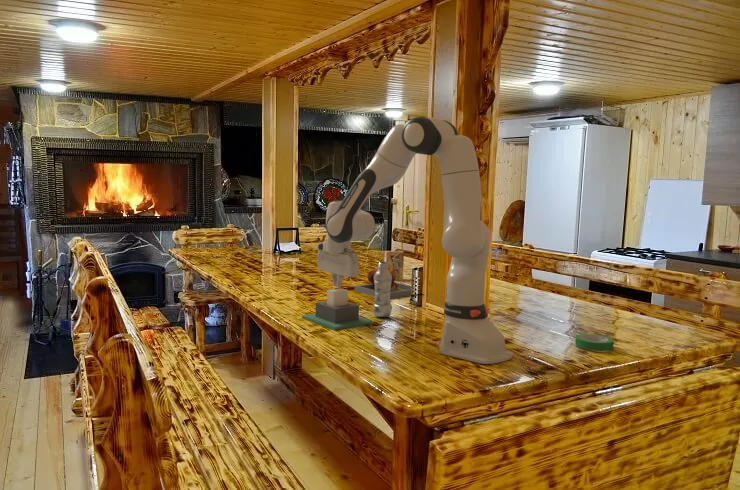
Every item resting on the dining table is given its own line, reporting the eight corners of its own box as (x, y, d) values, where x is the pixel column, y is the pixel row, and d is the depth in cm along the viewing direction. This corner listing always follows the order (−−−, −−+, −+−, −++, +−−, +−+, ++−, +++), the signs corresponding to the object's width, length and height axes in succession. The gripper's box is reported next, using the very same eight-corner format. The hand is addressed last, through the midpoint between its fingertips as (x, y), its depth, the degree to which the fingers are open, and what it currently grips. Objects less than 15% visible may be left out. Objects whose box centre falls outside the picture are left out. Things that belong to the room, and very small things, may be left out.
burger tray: (422, 295, 254) (423, 288, 254) (384, 300, 240) (384, 293, 240) (392, 287, 270) (392, 281, 269) (354, 292, 256) (354, 285, 256)
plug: (347, 315, 203) (347, 290, 202) (333, 317, 200) (333, 291, 199) (340, 313, 207) (341, 288, 206) (326, 315, 203) (327, 289, 202)
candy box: (400, 281, 289) (401, 250, 287) (403, 282, 285) (404, 251, 283) (383, 281, 287) (384, 250, 285) (385, 283, 283) (386, 251, 281)
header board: (372, 323, 201) (372, 306, 200) (334, 330, 191) (335, 312, 190) (338, 312, 216) (338, 296, 215) (302, 318, 206) (302, 301, 205)
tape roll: (575, 339, 188) (576, 331, 188) (612, 344, 184) (613, 335, 184) (574, 348, 178) (575, 340, 177) (613, 353, 174) (614, 344, 173)
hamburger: (384, 296, 250) (385, 273, 249) (361, 292, 258) (361, 270, 257) (404, 291, 263) (405, 269, 262) (381, 287, 271) (382, 266, 270)
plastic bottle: (389, 319, 207) (391, 264, 205) (371, 318, 208) (372, 263, 206) (392, 315, 213) (394, 261, 211) (374, 314, 215) (376, 260, 213)
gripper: (363, 249, 195) (362, 290, 196) (329, 243, 210) (328, 281, 212) (348, 250, 191) (347, 292, 192) (314, 244, 206) (313, 282, 208)
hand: (337, 286), depth 202 cm, fingers closed
